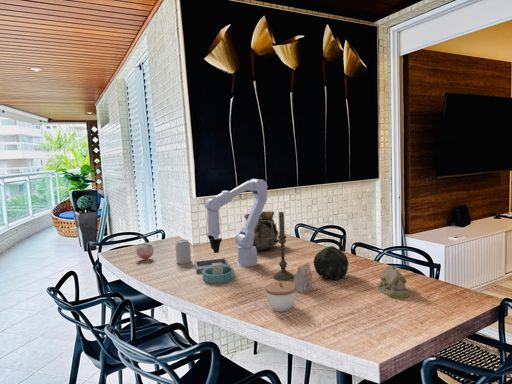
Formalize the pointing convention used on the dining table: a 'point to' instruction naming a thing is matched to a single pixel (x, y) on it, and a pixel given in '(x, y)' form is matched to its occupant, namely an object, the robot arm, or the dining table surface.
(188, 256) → the can
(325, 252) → the squash
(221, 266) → the gray rectangular block
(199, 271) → the parts tray
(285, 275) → the candlestick holder
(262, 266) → the dining table surface
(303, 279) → the milk carton
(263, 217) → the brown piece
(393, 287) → the ceramic model
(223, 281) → the bowl
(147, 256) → the decorative fruit
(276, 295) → the lidded jar
